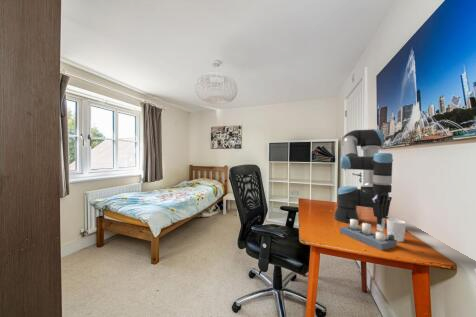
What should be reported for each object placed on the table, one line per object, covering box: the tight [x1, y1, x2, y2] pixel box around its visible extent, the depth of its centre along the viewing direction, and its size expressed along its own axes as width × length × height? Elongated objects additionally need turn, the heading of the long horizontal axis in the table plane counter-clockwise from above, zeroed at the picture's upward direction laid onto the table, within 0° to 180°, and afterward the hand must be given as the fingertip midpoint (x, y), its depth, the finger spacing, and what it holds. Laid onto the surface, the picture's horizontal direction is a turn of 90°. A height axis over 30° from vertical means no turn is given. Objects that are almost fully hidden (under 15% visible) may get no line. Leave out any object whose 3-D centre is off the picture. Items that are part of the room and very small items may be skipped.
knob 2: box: [375, 231, 387, 242], centre depth 95 cm, size 4×4×5 cm
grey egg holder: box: [339, 225, 398, 251], centre depth 102 cm, size 12×22×6 cm, turn 23°
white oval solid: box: [361, 222, 372, 235], centre depth 102 cm, size 4×4×5 cm
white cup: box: [386, 218, 407, 243], centre depth 102 cm, size 8×8×10 cm
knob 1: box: [349, 219, 359, 230], centre depth 108 cm, size 4×4×5 cm
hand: (380, 230), depth 96 cm, fingers closed
